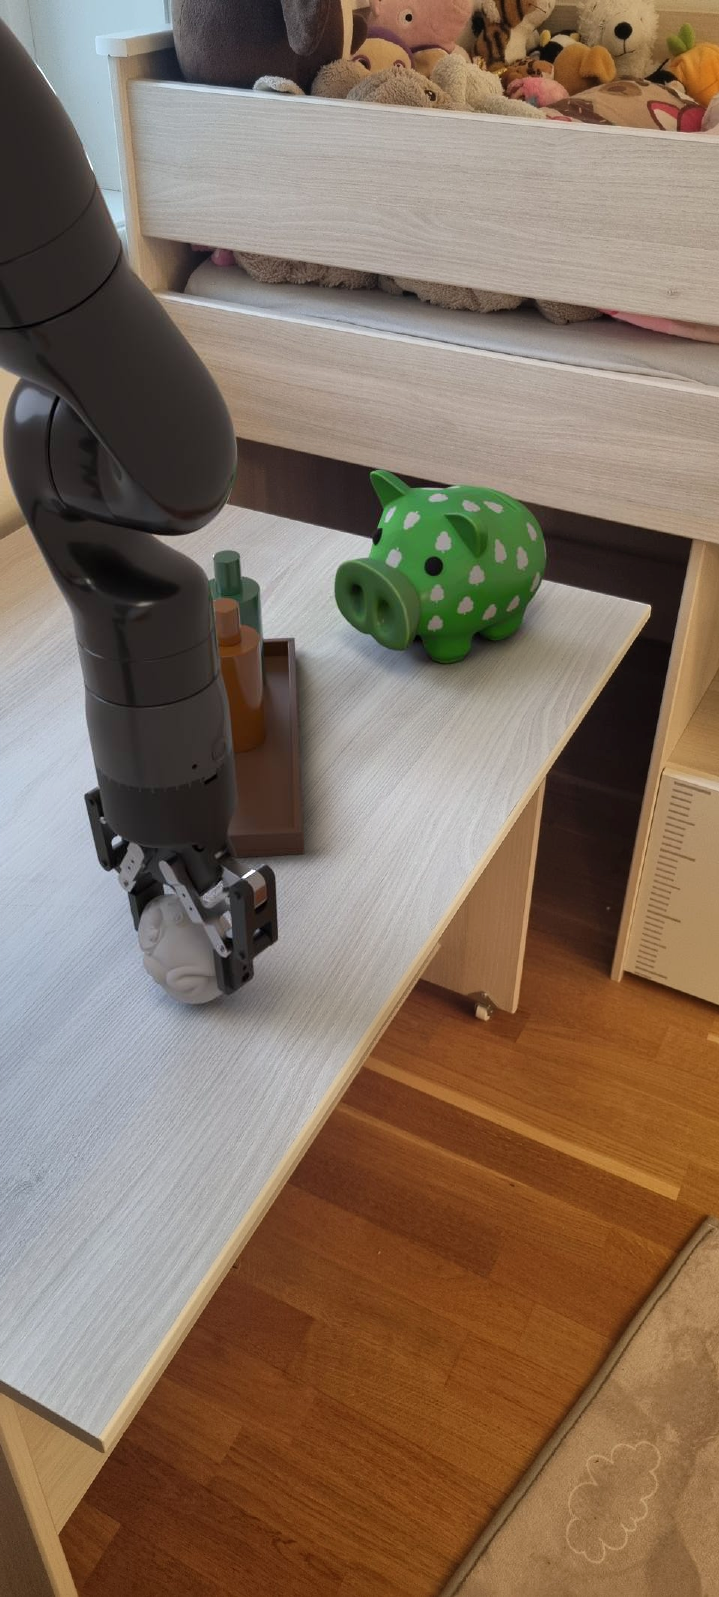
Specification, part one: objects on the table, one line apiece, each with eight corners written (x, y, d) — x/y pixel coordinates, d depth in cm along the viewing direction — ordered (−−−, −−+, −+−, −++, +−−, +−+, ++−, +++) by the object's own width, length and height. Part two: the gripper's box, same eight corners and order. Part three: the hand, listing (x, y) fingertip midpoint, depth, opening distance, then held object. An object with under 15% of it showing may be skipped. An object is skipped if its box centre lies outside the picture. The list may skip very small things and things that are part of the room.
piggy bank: (321, 637, 111) (315, 483, 101) (465, 577, 119) (472, 431, 110) (422, 703, 102) (426, 541, 93) (570, 633, 111) (587, 479, 101)
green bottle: (237, 704, 101) (225, 576, 94) (196, 683, 104) (182, 557, 96) (278, 680, 104) (270, 554, 97) (238, 660, 107) (227, 536, 99)
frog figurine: (199, 937, 80) (189, 858, 76) (268, 992, 76) (261, 912, 72) (125, 984, 77) (110, 905, 73) (192, 1045, 73) (180, 965, 69)
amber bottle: (235, 760, 95) (222, 628, 87) (192, 736, 97) (176, 606, 90) (279, 732, 98) (270, 602, 90) (236, 710, 100) (225, 582, 93)
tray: (303, 854, 87) (302, 832, 85) (162, 861, 86) (159, 839, 85) (295, 657, 108) (294, 637, 107) (182, 662, 108) (179, 642, 106)
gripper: (24, 722, 66) (73, 935, 76) (201, 830, 59) (229, 1051, 69) (129, 667, 70) (162, 875, 81) (306, 760, 63) (317, 977, 73)
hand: (193, 955), depth 75 cm, fingers closed on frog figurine, 7 cm apart
